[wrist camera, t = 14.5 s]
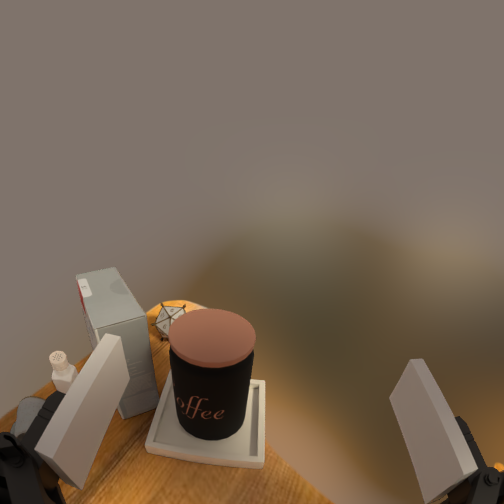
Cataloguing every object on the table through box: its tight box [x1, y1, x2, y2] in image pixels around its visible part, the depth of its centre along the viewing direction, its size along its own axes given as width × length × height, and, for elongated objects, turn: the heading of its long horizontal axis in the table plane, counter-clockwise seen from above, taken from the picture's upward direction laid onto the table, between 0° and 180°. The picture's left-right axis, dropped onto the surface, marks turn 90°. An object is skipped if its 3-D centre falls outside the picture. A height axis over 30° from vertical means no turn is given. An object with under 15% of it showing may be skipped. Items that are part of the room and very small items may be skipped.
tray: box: [145, 369, 265, 469], centre depth 41 cm, size 17×17×2 cm
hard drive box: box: [75, 267, 159, 419], centre depth 42 cm, size 16×8×20 cm, turn 39°
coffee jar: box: [168, 309, 256, 441], centre depth 38 cm, size 11×11×18 cm
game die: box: [151, 303, 186, 341], centre depth 59 cm, size 9×8×10 cm
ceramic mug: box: [10, 396, 46, 442], centre depth 28 cm, size 11×8×8 cm
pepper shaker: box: [49, 351, 78, 394], centre depth 38 cm, size 4×4×10 cm
